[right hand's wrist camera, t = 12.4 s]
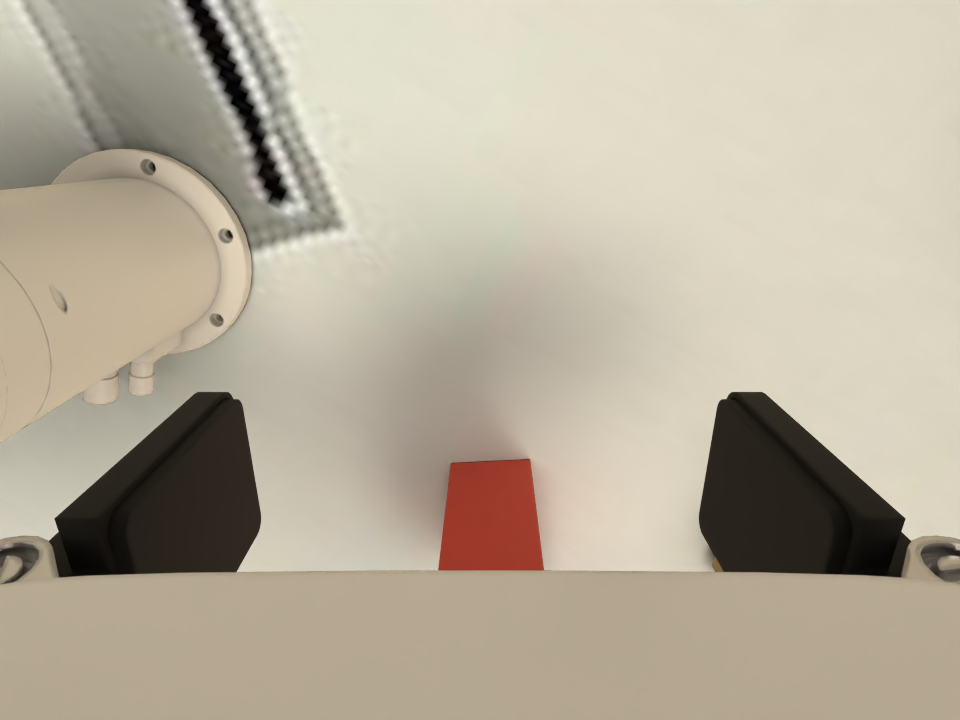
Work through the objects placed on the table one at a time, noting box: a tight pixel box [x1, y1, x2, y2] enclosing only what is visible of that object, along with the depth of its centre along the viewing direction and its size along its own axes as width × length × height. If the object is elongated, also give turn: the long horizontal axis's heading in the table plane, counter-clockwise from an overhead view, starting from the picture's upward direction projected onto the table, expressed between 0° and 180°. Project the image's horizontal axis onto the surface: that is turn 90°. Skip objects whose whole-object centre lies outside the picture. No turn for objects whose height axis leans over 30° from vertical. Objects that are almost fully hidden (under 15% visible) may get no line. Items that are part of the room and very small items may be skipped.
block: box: [438, 460, 544, 571], centre depth 37 cm, size 6×9×11 cm, turn 4°
